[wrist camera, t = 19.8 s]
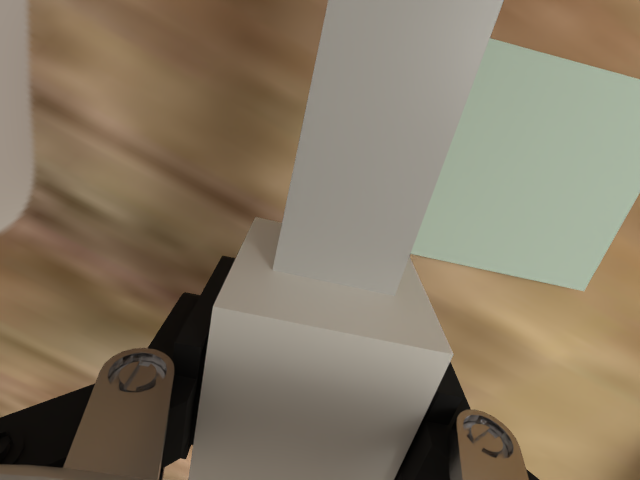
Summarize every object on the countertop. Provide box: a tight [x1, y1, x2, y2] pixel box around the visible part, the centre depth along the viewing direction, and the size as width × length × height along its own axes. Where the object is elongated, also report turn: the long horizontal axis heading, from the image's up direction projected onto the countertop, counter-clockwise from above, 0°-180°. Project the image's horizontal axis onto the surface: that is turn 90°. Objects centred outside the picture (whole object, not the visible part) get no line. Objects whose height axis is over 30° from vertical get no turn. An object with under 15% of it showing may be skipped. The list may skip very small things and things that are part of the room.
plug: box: [188, 0, 504, 480], centre depth 8 cm, size 18×4×4 cm, turn 167°
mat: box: [410, 38, 640, 291], centre depth 18 cm, size 10×10×1 cm
